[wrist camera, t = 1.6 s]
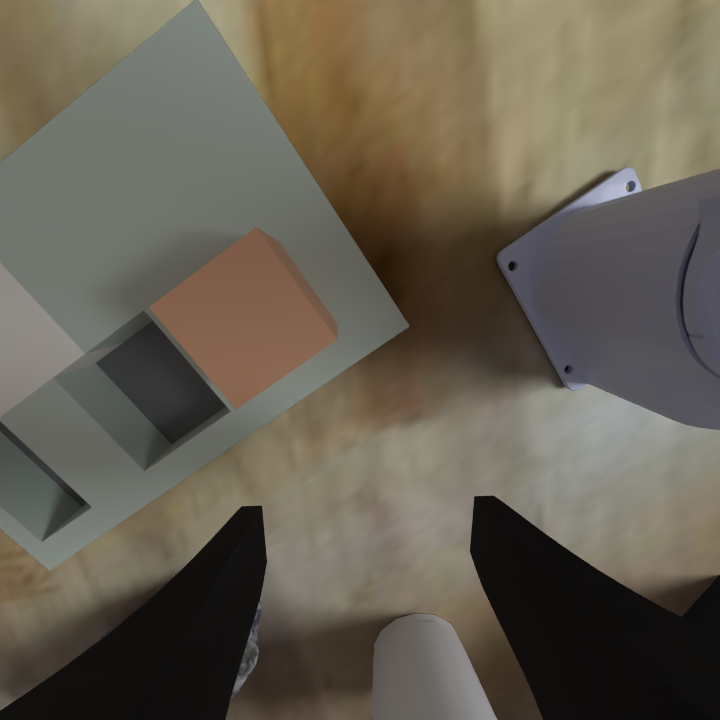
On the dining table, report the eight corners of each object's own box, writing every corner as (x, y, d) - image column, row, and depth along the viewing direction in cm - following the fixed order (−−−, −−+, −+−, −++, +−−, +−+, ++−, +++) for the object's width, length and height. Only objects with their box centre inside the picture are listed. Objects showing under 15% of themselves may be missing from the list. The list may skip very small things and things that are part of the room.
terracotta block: (337, 324, 16) (337, 339, 12) (261, 378, 16) (235, 409, 12) (278, 240, 15) (256, 227, 11) (198, 299, 15) (149, 307, 11)
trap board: (399, 318, 19) (409, 326, 16) (90, 530, 21) (49, 570, 18) (223, 50, 15) (196, -3, 13) (-125, 333, 18) (-218, 344, 15)
